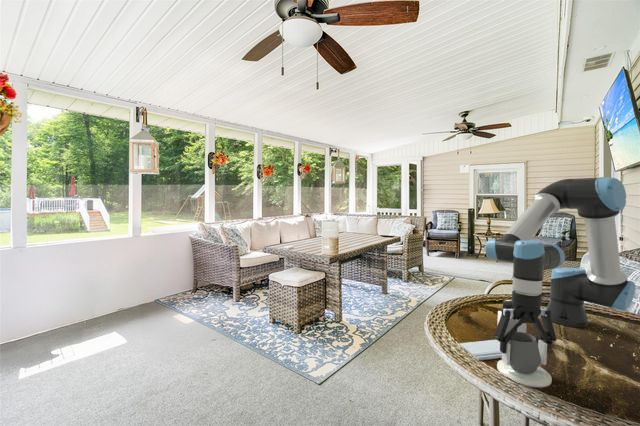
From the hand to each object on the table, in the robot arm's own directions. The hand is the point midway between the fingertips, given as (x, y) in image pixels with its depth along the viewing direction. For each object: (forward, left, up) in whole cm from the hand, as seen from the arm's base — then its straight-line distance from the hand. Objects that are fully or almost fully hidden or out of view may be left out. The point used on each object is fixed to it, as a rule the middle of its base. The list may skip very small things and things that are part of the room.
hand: (523, 362), depth 95 cm
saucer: (0, 0, -3) cm, 3 cm away
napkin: (+3, -14, -3) cm, 15 cm away
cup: (0, 0, -2) cm, 2 cm away
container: (-14, -27, -4) cm, 31 cm away
